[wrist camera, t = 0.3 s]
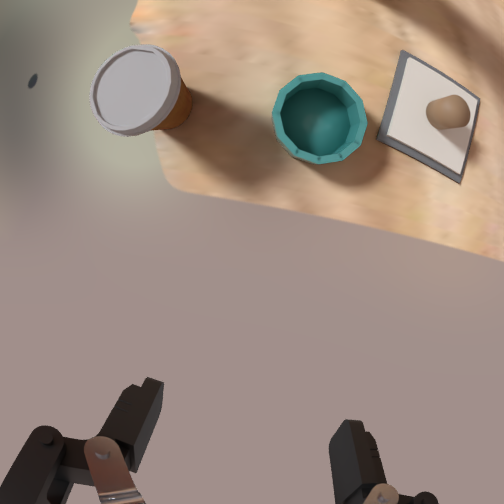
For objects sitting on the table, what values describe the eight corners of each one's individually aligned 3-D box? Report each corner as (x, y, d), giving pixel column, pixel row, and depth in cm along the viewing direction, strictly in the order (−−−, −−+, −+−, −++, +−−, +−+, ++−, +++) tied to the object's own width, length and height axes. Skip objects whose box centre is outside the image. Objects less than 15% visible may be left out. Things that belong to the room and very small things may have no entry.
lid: (407, 58, 29) (426, 45, 24) (474, 100, 30) (497, 96, 24) (386, 135, 33) (405, 132, 27) (456, 173, 33) (480, 177, 28)
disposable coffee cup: (220, 105, 34) (198, 81, 22) (164, 156, 36) (121, 156, 25) (174, 58, 32) (137, 23, 21) (122, 108, 34) (70, 94, 23)
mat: (400, 50, 30) (402, 49, 29) (478, 99, 30) (480, 98, 30) (376, 139, 34) (377, 139, 33) (458, 182, 34) (459, 183, 34)
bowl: (287, 73, 32) (289, 61, 27) (363, 102, 32) (376, 94, 28) (262, 146, 35) (261, 144, 30) (339, 174, 35) (350, 176, 31)
